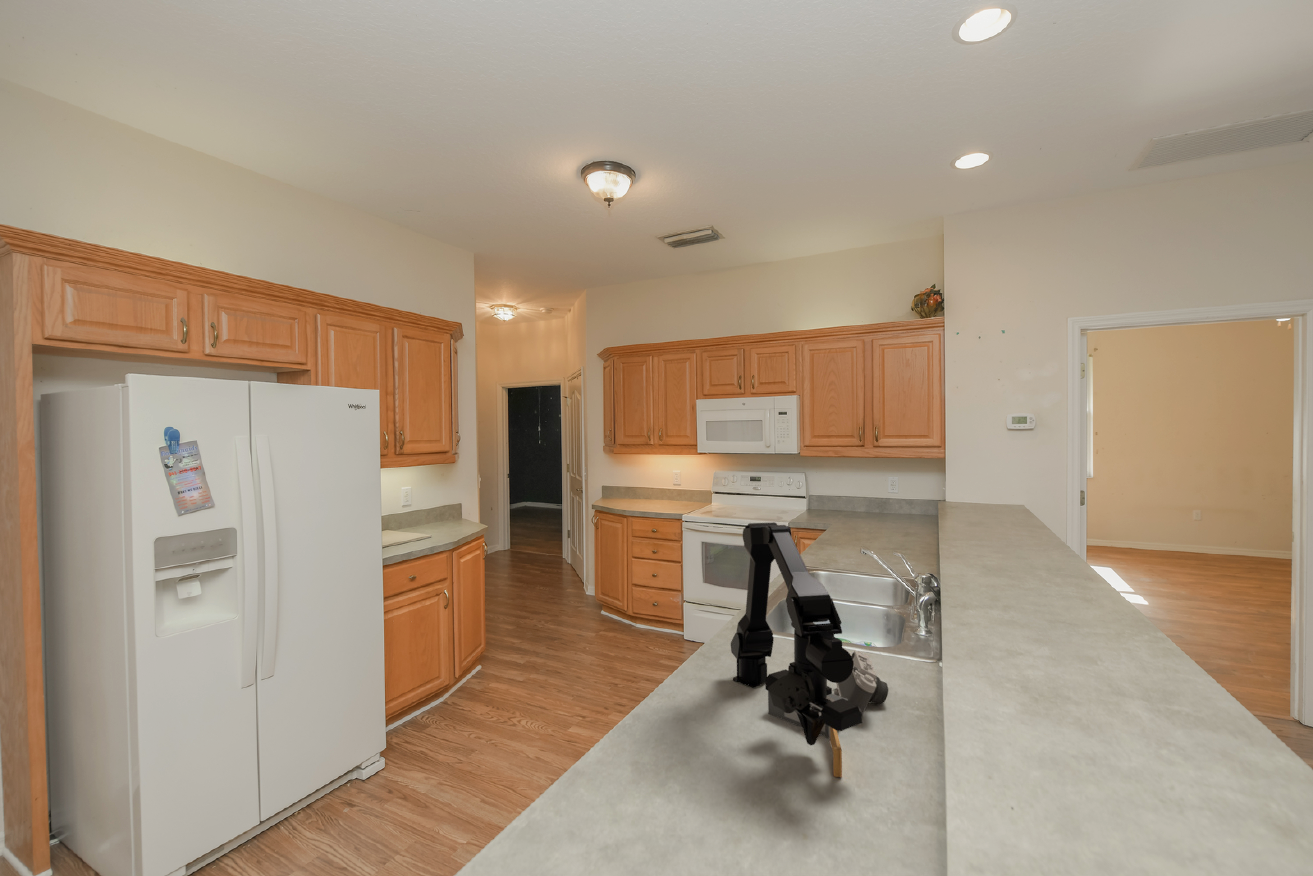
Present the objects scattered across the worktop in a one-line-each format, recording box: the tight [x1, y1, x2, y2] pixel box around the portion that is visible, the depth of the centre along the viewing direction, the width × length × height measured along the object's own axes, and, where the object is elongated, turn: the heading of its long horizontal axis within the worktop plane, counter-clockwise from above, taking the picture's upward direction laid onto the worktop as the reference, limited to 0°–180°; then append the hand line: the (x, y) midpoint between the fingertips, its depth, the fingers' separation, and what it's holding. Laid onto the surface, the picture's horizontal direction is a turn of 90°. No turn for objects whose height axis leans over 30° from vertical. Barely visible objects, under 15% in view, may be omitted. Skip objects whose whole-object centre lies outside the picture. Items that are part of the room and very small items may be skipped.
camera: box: [835, 649, 889, 715], centre depth 122 cm, size 9×16×10 cm, turn 170°
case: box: [767, 690, 848, 742], centre depth 115 cm, size 15×9×5 cm, turn 45°
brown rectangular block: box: [829, 727, 843, 778], centre depth 101 cm, size 11×1×5 cm, turn 169°
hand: (810, 744), depth 103 cm, fingers closed
